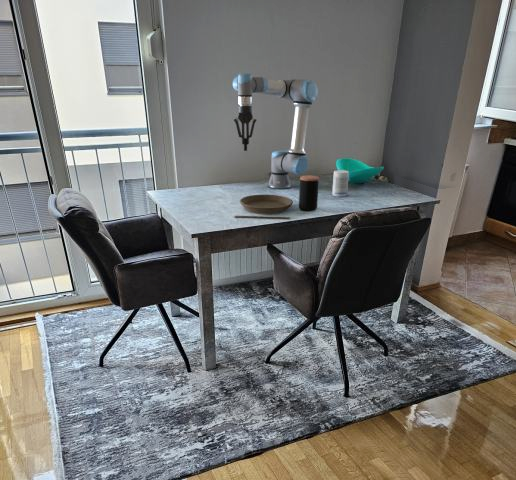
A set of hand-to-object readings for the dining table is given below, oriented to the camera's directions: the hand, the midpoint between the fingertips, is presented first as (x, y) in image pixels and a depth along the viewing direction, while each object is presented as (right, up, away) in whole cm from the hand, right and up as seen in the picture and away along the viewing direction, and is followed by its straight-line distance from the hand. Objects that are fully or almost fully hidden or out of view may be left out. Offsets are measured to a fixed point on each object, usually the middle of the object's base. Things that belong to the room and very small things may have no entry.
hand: (245, 150), depth 273 cm
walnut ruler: (+10, -43, -15) cm, 47 cm away
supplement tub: (+60, -17, +29) cm, 69 cm away
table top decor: (+78, +2, +61) cm, 99 cm away
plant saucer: (+12, -33, +2) cm, 36 cm away
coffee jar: (+36, -35, 0) cm, 50 cm away
